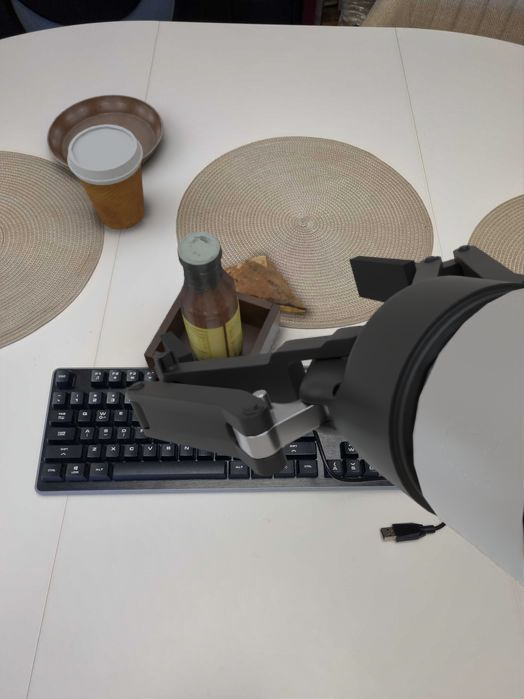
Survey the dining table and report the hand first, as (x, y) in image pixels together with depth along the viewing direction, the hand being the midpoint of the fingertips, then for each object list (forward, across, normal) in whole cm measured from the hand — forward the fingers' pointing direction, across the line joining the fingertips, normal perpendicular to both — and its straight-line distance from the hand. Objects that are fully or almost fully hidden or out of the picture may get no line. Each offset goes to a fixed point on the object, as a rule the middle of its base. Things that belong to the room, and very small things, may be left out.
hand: (269, 312), depth 35 cm
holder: (+31, +1, -10) cm, 32 cm away
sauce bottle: (+30, +1, -10) cm, 32 cm away
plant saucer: (+60, 0, +19) cm, 63 cm away
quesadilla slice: (+36, +11, -6) cm, 38 cm away
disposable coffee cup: (+50, -2, +9) cm, 51 cm away
